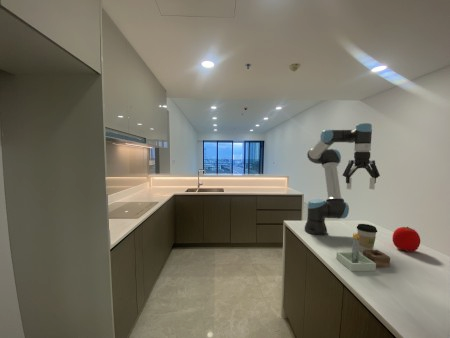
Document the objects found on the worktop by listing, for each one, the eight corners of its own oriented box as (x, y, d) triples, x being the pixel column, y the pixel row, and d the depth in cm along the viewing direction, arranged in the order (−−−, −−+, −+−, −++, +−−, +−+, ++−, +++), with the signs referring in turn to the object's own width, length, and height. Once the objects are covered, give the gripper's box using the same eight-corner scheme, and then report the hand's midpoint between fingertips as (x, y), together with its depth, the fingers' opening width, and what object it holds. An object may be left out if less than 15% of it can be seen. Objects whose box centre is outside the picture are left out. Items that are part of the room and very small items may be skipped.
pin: (350, 261, 102) (351, 233, 102) (355, 261, 103) (357, 233, 102) (354, 264, 100) (355, 235, 99) (359, 264, 100) (361, 235, 99)
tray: (336, 258, 107) (336, 252, 107) (357, 258, 108) (357, 251, 107) (351, 271, 95) (352, 264, 95) (375, 270, 96) (375, 263, 95)
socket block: (362, 259, 107) (362, 250, 106) (376, 258, 107) (377, 249, 107) (374, 267, 99) (375, 257, 98) (389, 266, 99) (390, 257, 99)
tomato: (395, 251, 116) (396, 227, 115) (389, 243, 126) (390, 222, 125) (424, 256, 110) (425, 231, 109) (415, 248, 121) (416, 225, 120)
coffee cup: (379, 256, 110) (381, 229, 109) (360, 254, 112) (361, 228, 111) (370, 248, 119) (371, 224, 118) (352, 246, 121) (353, 222, 120)
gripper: (345, 151, 107) (343, 190, 108) (389, 151, 108) (387, 190, 109) (336, 151, 114) (335, 188, 116) (378, 152, 116) (375, 188, 117)
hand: (360, 189), depth 113 cm, fingers open, 13 cm apart
